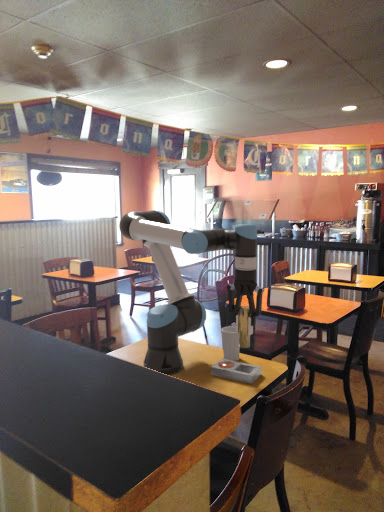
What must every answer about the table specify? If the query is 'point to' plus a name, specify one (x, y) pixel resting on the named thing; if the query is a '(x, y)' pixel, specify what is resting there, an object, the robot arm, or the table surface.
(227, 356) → the cup
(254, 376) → the plate with copper dome
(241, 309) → the brass cylinder with tabs
